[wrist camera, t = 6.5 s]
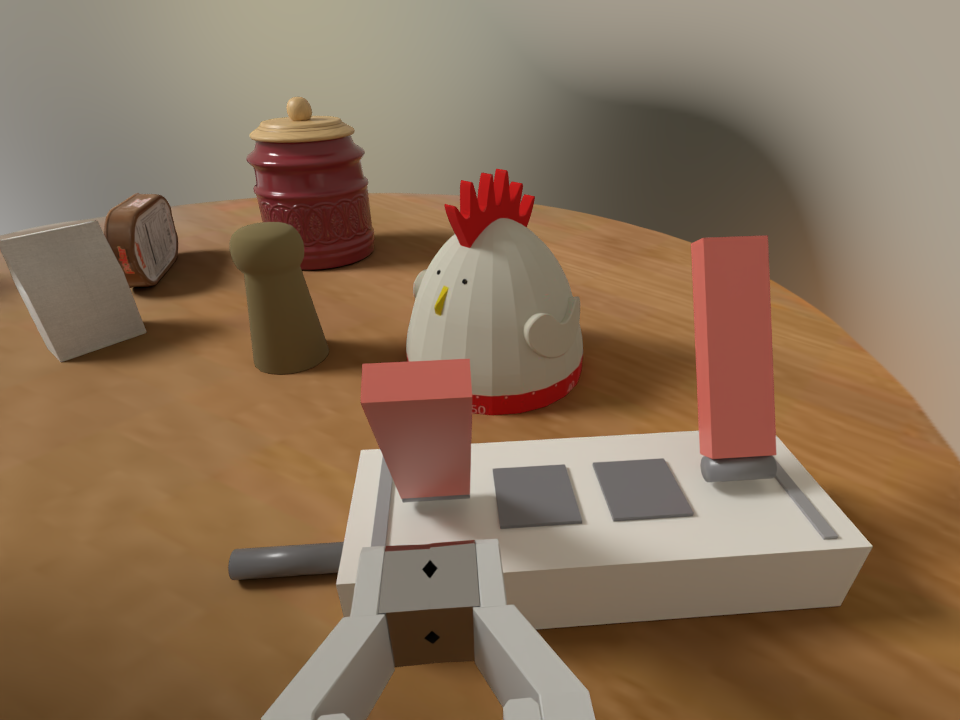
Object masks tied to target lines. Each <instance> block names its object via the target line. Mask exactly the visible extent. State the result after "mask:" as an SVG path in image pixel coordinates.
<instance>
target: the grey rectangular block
mask: <svg viewBox="0 0 960 720" xmlns="http://www.w3.org/2000/svg"><path fill="white" fill-rule="evenodd" d="M0 250H1V252H2V254H3V257H4V259H5V261H6V263H7V266H8V268H9V270H10V273H11V275H12V278H13V280H14V282H15V285H16V287H17V289H18V291H19V293H20V295H21V297H22V299H23V301H24V303H25V305H26V307H27V309H28V311H29V313H30V315H31V317H32V319H33V320H34V322H35V324H36V326H37V328H38V330H39V332H40V334H41V336H42V338H43V340H44V342H45V344H46V346H47V348H48V349H49V350H50V352H51V353H52V354H53V355H54V356H55V357H56V358H57V359H58V360H59V361H60V362H63V361H66V360H69V359H72V358H75V357H78V356H81V355H84V354H87V353H90V352H92V351H95V350H98V349H101V348H104V347H107V346H110V345H113V344H116V343H118V342H121V341H124V340H127V339H130V338H133V337H136V336H139V335H142V334H145V333H147V332H146V329H145V327H144V324H143V321H142V319H141V316H140V314H139V311H138V308H137V306H136V303H135V301H134V298H133V295H132V293H131V290H130V288H129V285H128V283H127V280H126V277H125V275H124V272H123V270H122V268H121V266H120V264H119V263H118V261H117V259H116V257H115V255H114V253H113V251H112V249H111V247H110V245H109V243H108V241H107V239H106V238H105V236H104V234H103V232H102V229H101V227H100V225H99V223H98V221H91V222H86V223H81V224H76V225H71V226H66V227H61V228H56V229H52V230H47V231H42V232H37V233H32V234H27V235H22V236H17V237H12V238H7V239H2V240H0Z"/></svg>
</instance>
